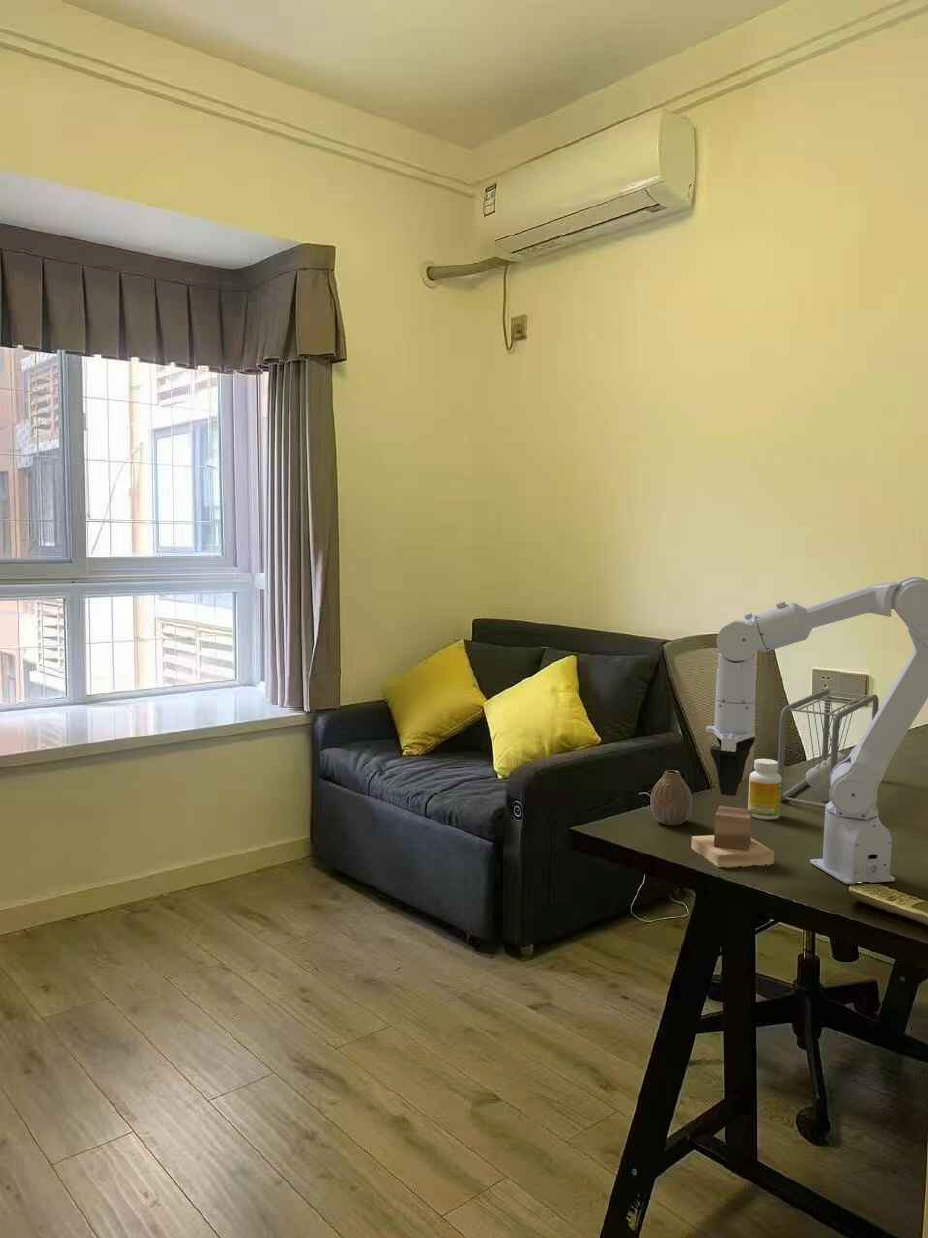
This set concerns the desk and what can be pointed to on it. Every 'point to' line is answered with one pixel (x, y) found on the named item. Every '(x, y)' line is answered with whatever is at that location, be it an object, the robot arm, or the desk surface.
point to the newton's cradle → (823, 770)
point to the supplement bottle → (765, 790)
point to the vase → (671, 799)
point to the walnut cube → (733, 828)
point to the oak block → (732, 853)
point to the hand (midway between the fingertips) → (731, 788)
